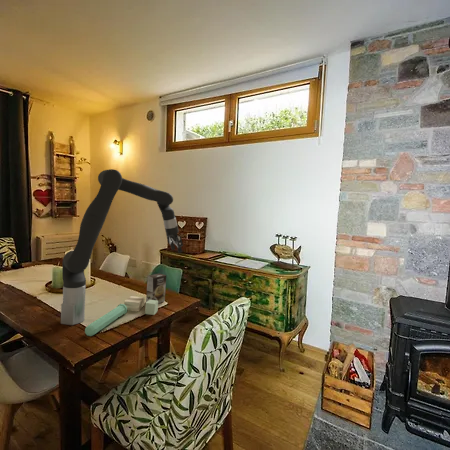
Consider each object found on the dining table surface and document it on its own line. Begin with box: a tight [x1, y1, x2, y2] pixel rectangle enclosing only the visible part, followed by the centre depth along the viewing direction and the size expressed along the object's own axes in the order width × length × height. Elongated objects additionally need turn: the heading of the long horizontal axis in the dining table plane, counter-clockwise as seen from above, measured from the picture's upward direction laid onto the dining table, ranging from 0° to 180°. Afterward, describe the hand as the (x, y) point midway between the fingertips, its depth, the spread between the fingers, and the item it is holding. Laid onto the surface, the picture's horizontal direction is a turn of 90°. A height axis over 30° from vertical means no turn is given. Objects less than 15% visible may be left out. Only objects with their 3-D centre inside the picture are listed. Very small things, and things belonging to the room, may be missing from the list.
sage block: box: [144, 300, 159, 316], centre depth 142 cm, size 5×5×6 cm
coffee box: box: [145, 273, 167, 304], centre depth 156 cm, size 9×6×16 cm
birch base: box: [123, 295, 146, 312], centre depth 146 cm, size 8×8×5 cm
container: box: [84, 303, 128, 337], centre depth 125 cm, size 6×6×25 cm
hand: (176, 251), depth 161 cm, fingers open, 8 cm apart
